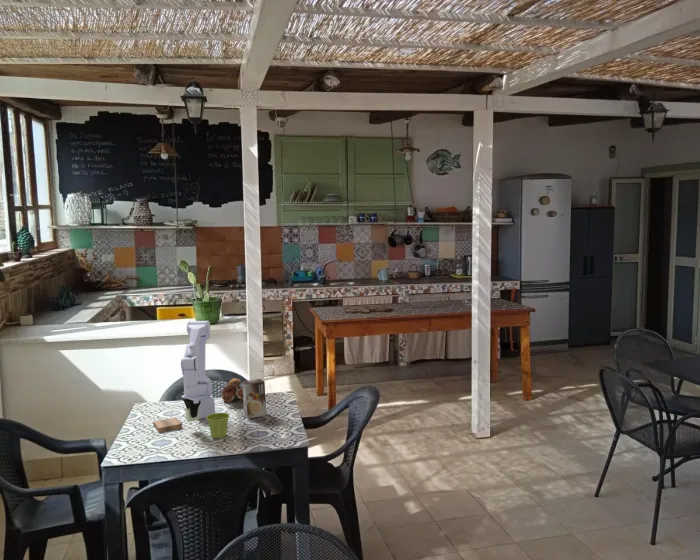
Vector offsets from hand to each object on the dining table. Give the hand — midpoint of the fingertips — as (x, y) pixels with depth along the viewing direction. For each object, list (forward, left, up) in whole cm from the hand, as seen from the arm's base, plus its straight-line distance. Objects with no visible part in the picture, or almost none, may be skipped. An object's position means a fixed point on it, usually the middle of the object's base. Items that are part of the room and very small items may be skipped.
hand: (192, 415), depth 262 cm
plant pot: (-7, +13, -7) cm, 16 cm away
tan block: (+8, -11, -7) cm, 15 cm away
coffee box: (-30, -4, -7) cm, 31 cm away
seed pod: (-30, -32, -7) cm, 44 cm away
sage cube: (0, 0, -2) cm, 2 cm away
